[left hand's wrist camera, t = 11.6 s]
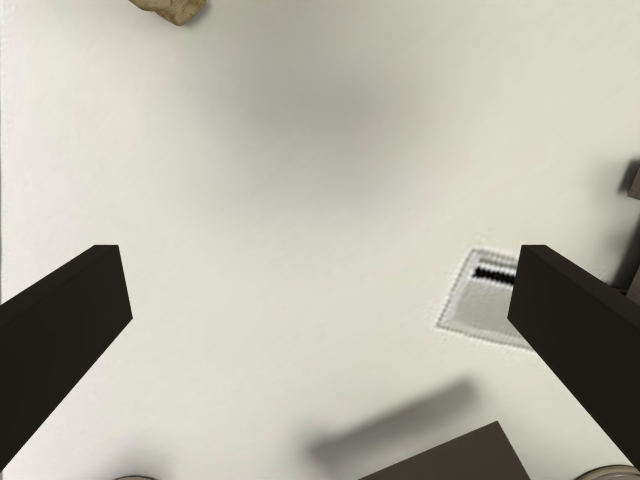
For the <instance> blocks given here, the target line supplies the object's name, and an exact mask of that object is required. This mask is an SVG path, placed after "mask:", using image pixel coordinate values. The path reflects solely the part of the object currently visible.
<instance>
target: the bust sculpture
mask: <svg viewBox="0 0 640 480" xmlns="http://www.w3.org/2000/svg"><path fill="white" fill-rule="evenodd" d="M118 480H151V479H147V478H142V477H126V478H121V479H118Z"/></svg>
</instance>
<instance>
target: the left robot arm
mask: <svg viewBox="0 0 640 480" xmlns="http://www.w3.org/2000/svg"><path fill="white" fill-rule="evenodd" d="M132 319H133V317H132V312H131V307H130V302H129V297H128V292H127V286H126V281H125V276H124V271H123V266H122V261H121V256H120V251H119V246H118V245H94V246H92V247H91V248H89V249H88V250H86V251H84V252H83V253H81V254H80V255H78V256H77V257H75V258H74V259H72V260H70V261H69V262H67V263H66V264H64V265H63V266H61V267H60V268H58V269H56V270H55V271H53V272H52V273H50V274H49V275H47V276H45V277H44V278H42V279H41V280H39V281H38V282H36V283H35V284H33V285H31V286H30V287H28V288H27V289H25V290H24V291H22V292H21V293H19V294H17V295H16V296H14V297H13V298H11V299H10V300H8V301H7V302H5V303H3V304H2V305H0V472H1V471H2V470H3V469H4V468H5V467H6V465H7V464H8V463H9V462H10V461H11V460H12V458H13V457H14V456H15V455H16V454H17V453H18V451H19V450H20V449H21V448H22V447H23V446H24V444H25V443H26V442H27V441H28V440H29V439H30V437H31V436H32V435H33V434H34V433H35V432H36V430H37V429H38V428H39V427H40V426H41V425H42V423H43V422H44V421H45V420H46V419H47V418H48V417H49V415H50V414H51V413H52V412H53V411H54V410H55V408H56V407H57V406H58V405H59V404H60V403H61V401H62V400H63V399H64V398H65V397H66V396H67V394H68V393H69V392H70V391H71V390H72V389H73V387H74V386H75V385H76V384H77V383H78V382H79V380H80V379H81V378H82V377H83V376H84V375H85V373H86V372H87V371H88V370H89V369H90V368H91V366H92V365H93V364H94V363H95V362H96V361H97V359H98V358H99V357H100V356H101V355H102V354H103V352H104V351H105V350H106V349H107V348H108V347H109V345H110V344H111V343H112V342H113V341H114V340H115V338H116V337H117V336H118V335H119V334H120V333H121V331H122V330H123V329H124V328H125V327H126V326H127V325H128V323H129V322H130V321H131V320H132ZM507 319H508V320H509V321H510V322H511V323H512V325H513V326H514V327H515V328H516V329H517V330H518V331H519V333H520V334H521V335H522V336H523V337H524V338H525V340H526V341H527V342H528V343H529V344H530V345H531V347H532V348H533V349H534V350H535V351H536V352H537V354H538V355H539V356H540V357H541V358H542V359H543V361H544V362H545V363H546V364H547V365H548V366H549V368H550V369H551V370H552V371H553V372H554V373H555V375H556V376H557V377H558V378H559V379H560V380H561V382H562V383H563V384H564V385H565V386H566V387H567V389H568V390H569V391H570V392H571V393H572V394H573V396H574V397H575V398H576V399H577V400H578V401H579V403H580V404H581V405H582V406H583V407H584V408H585V410H586V411H587V412H588V413H589V414H590V415H591V417H592V418H593V419H594V420H595V421H596V422H597V423H598V425H599V426H600V427H601V428H602V429H603V430H604V432H605V433H606V434H607V435H608V436H609V437H610V439H611V440H612V441H613V442H614V443H615V444H616V446H617V447H618V448H619V449H620V450H621V451H622V453H623V454H624V455H625V456H626V457H627V458H628V460H629V461H630V462H631V463H632V464H633V465H634V467H635V468H636V469H637V470H638V471H639V472H640V305H638V304H637V303H635V302H633V301H632V300H630V299H629V298H627V297H626V296H624V295H623V294H621V293H619V292H618V291H616V290H615V289H613V288H612V287H610V286H609V285H607V284H605V283H604V282H602V281H601V280H599V279H598V278H596V277H595V276H593V275H591V274H590V273H588V272H587V271H585V270H584V269H582V268H580V267H579V266H577V265H576V264H574V263H573V262H571V261H570V260H568V259H566V258H565V257H563V256H562V255H560V254H559V253H557V252H556V251H554V250H552V249H551V248H549V247H548V246H546V245H522V246H521V251H520V256H519V261H518V266H517V271H516V276H515V281H514V286H513V292H512V297H511V302H510V307H509V312H508V317H507Z"/></svg>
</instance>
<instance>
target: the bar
mask: <svg viewBox="0 0 640 480" xmlns="http://www.w3.org/2000/svg"><path fill="white" fill-rule="evenodd" d="M359 480H531V479H530V478H529V476H528V474H527V472H526V470H525V469H524V467H523V465H522V463H521V462H520V460H519V458H518V456H517V454H516V453H515V451H514V449H513V447H512V445H511V444H510V442H509V440H508V438H507V437H506V435H505V433H504V431H503V429H502V428H501V426H500V424H499V422H498V421H495V422H493V423H491V424H488V425H486V426H484V427H481V428H479V429H476V430H474V431H472V432H469V433H467V434H465V435H462V436H460V437H458V438H455V439H453V440H451V441H448V442H446V443H444V444H441V445H439V446H436V447H434V448H432V449H429V450H427V451H425V452H422V453H420V454H418V455H415V456H413V457H411V458H408V459H406V460H403V461H401V462H399V463H396V464H394V465H392V466H389V467H387V468H385V469H382V470H380V471H378V472H375V473H373V474H371V475H368V476H366V477H363V478H361V479H359Z"/></svg>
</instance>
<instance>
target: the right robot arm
mask: <svg viewBox="0 0 640 480" xmlns="http://www.w3.org/2000/svg"><path fill="white" fill-rule="evenodd" d="M577 480H640V472H639V471H638V470H637V469H636V468H634V467H628V466H612V467H606V468H601V469H598V470H595V471H592V472H590V473H588V474H586V475H584V476H582V477H580V478H579V479H577Z"/></svg>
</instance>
